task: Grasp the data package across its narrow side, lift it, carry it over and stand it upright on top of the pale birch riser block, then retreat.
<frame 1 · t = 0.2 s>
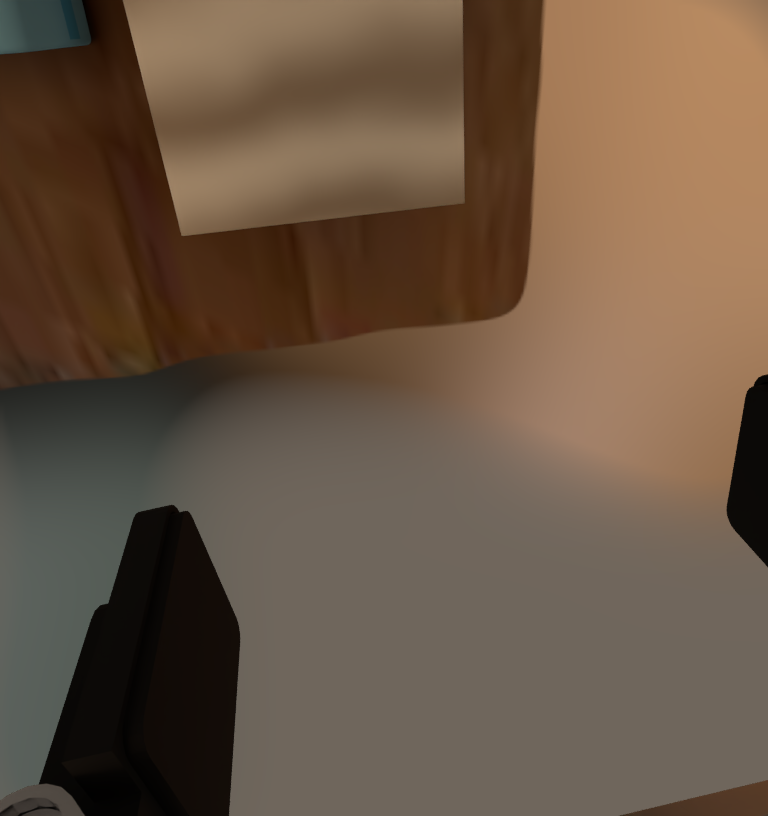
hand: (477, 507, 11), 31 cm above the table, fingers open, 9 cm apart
birch riser block: (304, 74, 34), on the table
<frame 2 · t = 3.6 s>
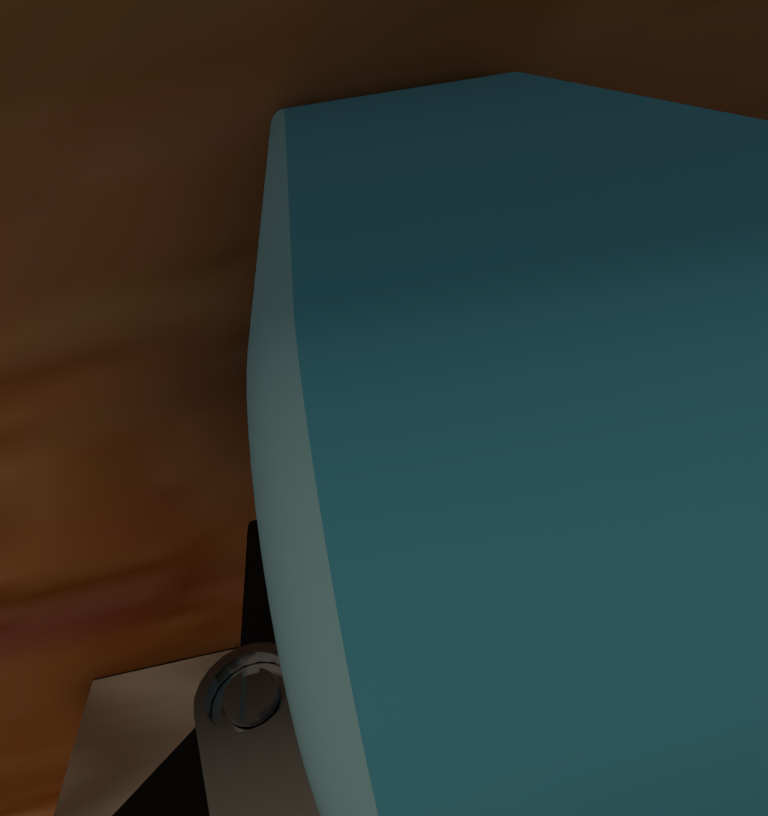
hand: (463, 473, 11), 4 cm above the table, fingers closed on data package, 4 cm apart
birch riser block: (347, 762, 24), on the table
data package: (416, 356, 15), on the table, touching gripper
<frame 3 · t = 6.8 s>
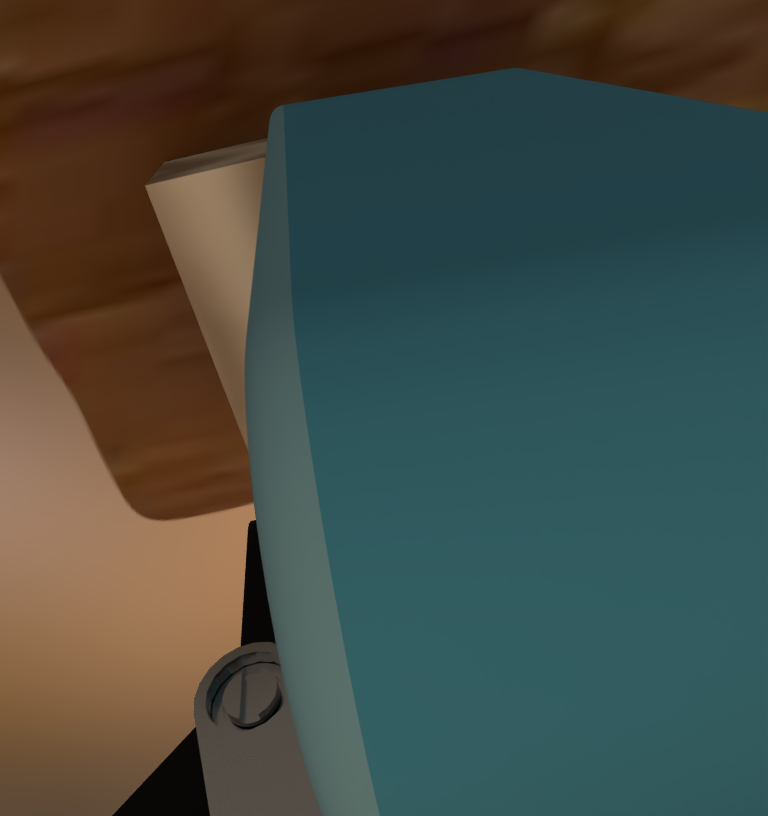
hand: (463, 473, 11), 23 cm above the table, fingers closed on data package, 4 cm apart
birch riser block: (337, 280, 33), on the table
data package: (416, 354, 15), point 19 cm above the table, touching gripper
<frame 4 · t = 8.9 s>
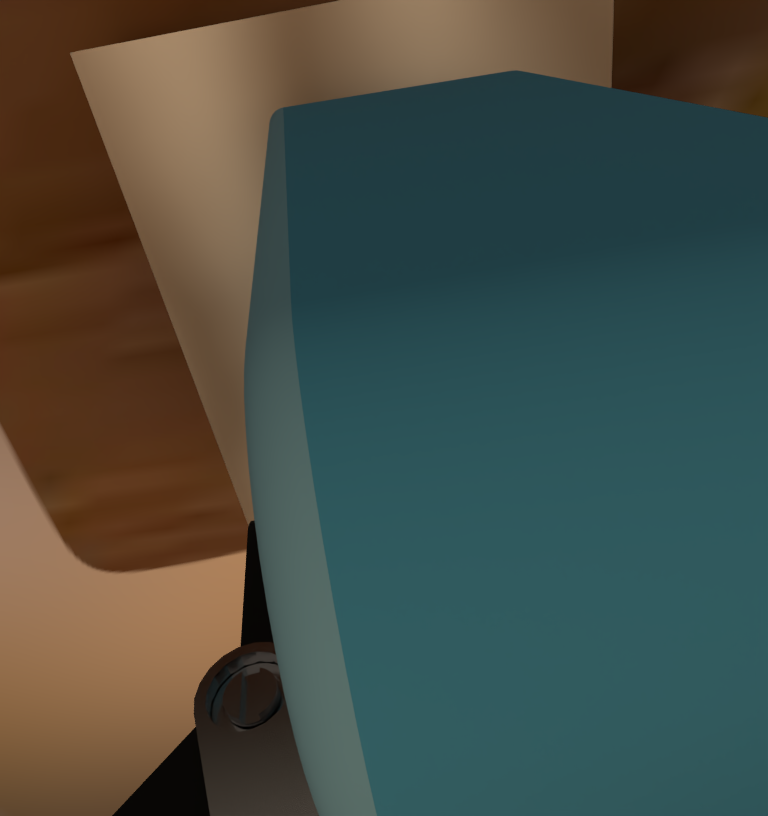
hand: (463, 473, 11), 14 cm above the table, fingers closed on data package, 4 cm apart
birch riser block: (374, 246, 23), on the table
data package: (416, 355, 15), point 9 cm above the table, touching gripper
when the fingers open (11 cm above the table, at t = 10.3 s): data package drops 1 cm, resting on birch riser block.
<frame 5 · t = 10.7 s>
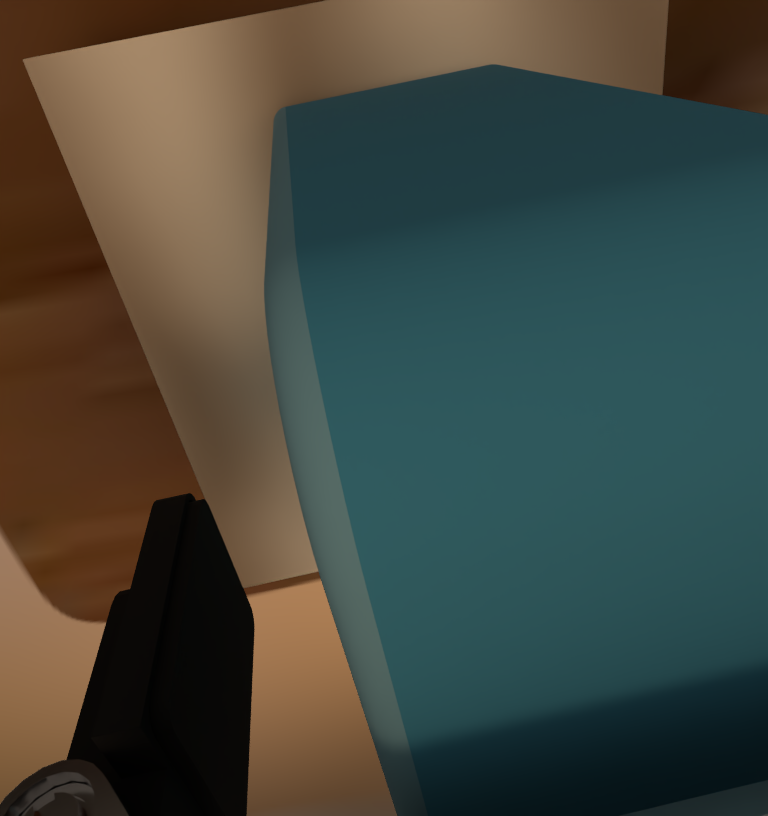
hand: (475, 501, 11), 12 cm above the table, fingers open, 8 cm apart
birch riser block: (381, 272, 21), on the table
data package: (415, 332, 17), point 5 cm above the table, touching birch riser block
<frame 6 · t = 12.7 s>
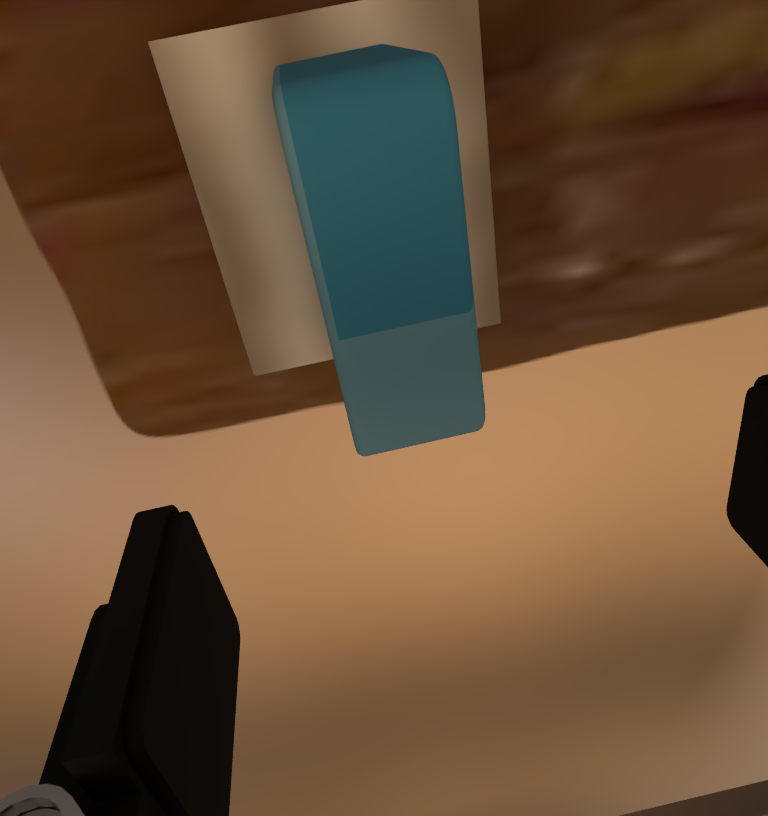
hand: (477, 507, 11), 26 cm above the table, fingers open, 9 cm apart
birch riser block: (341, 180, 33), on the table
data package: (355, 201, 29), point 5 cm above the table, touching birch riser block
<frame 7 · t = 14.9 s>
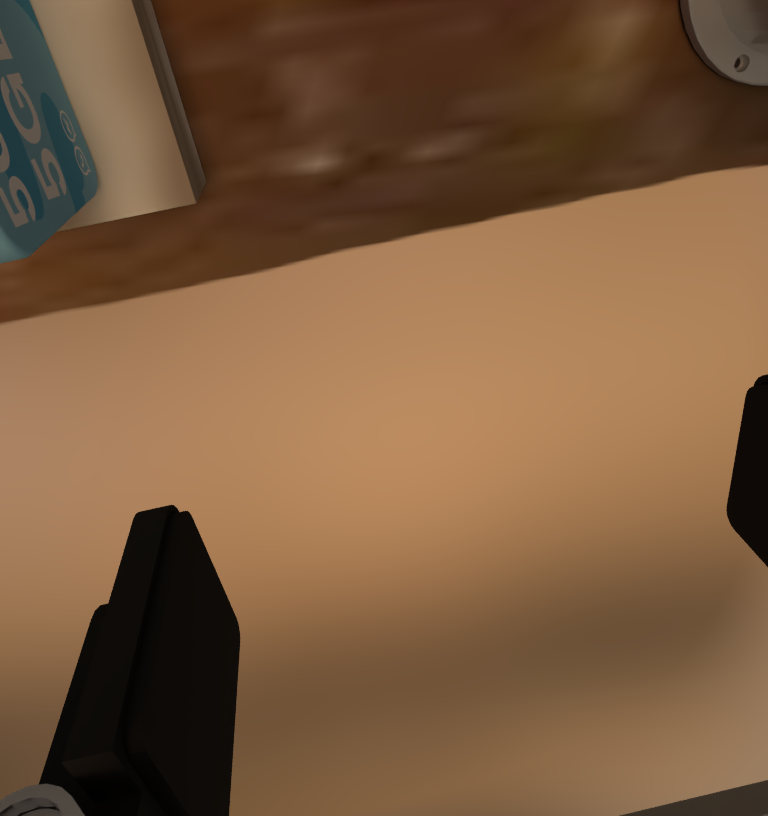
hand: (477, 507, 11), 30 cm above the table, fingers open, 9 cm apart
birch riser block: (30, 54, 31), on the table
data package: (0, 58, 27), point 5 cm above the table, touching birch riser block
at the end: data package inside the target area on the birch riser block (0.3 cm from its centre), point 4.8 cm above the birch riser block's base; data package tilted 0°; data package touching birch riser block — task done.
